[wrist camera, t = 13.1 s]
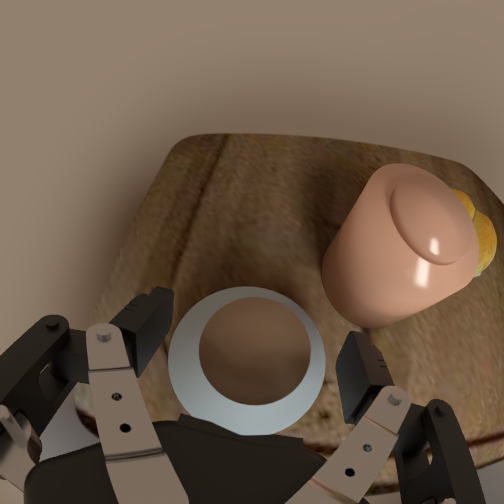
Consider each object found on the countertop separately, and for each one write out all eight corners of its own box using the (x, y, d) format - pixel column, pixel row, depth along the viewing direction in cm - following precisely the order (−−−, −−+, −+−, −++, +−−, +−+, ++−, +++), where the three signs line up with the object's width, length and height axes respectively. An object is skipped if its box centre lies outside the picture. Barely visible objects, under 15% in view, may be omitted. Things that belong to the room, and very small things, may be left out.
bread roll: (437, 188, 25) (455, 165, 22) (488, 245, 22) (510, 227, 19) (408, 227, 22) (430, 202, 19) (468, 295, 20) (496, 279, 16)
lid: (266, 272, 19) (286, 204, 12) (341, 380, 16) (409, 373, 9) (151, 337, 17) (97, 303, 10) (223, 455, 14) (216, 505, 7)
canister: (371, 215, 22) (420, 142, 14) (428, 290, 20) (501, 239, 12) (299, 260, 20) (338, 180, 12) (364, 351, 17) (447, 320, 9)
